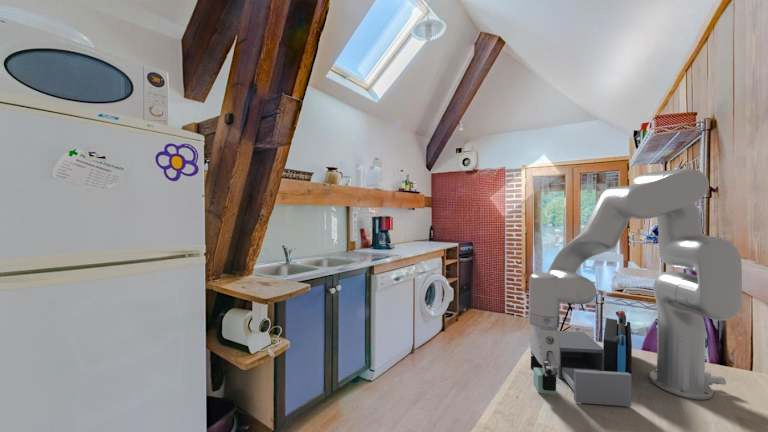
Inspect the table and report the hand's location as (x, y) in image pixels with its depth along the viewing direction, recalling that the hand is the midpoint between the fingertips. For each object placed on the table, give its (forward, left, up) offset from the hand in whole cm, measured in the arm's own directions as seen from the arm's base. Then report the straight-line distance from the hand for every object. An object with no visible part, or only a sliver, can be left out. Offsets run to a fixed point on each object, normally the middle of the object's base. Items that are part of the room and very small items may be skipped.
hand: (542, 379), depth 85 cm
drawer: (-12, -1, -2) cm, 13 cm away
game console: (-26, -14, -3) cm, 30 cm away
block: (0, 0, -3) cm, 3 cm away
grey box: (-12, -12, -3) cm, 18 cm away
